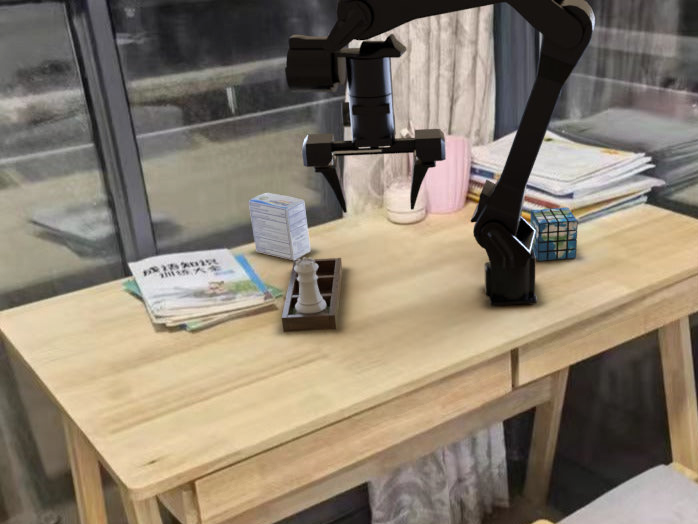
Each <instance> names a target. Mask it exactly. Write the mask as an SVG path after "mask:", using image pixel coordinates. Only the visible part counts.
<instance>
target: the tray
mask: <svg viewBox="0 0 698 524" xmlns="http://www.w3.org/2000/svg"><path fill="white" fill-rule="evenodd" d="M306 259H307V258H306ZM314 259H315V263H316V264H317V265H318V269H317V271H316V275H317V276H318V279H317V285H318V289H319V293H320V295H321V296H322V297H323V300H325V302H326V305H327V306H326V308H327V310H328V312H327V313H323V314H303V315H296V314H295V313H296V311H297V310H296V309H295V305H296V303H297V302H298V300H297V299H298V298H299V281H298V280H297V278H298V273H297V272H296V271H295V270H294V267H295V266H296V261H297V259H296V260H293V263H292V267H291V273H290V277H289V282H288V287H287V291H286V296H285V300H284V306H283V309H282V314H281V325H282V332H283V333H291V332H311V331H331V330H337V327H338V326H337V325H338V317H339V307H340V298H341V289H342V288H341V287H342V278H343V271H344V270H343V261H342V257H331V258H330V257H329V258H314ZM307 260H309V258H308V259H307ZM301 261H303V259H301Z"/></svg>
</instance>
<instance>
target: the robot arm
mask: <svg viewBox="0 0 698 524" xmlns="http://www.w3.org/2000/svg"><path fill="white" fill-rule="evenodd" d="M503 3H507V4H508V5H509V6H510V7H511V8H512V9H514V10H515V12H517V13H518V14H519V15H520V16H521V17H522V18H523V19H524V20H525V21H526V22H527V23H528V24H529V25H530V26H532V28H534V30H536V31H537V32H539V33H540V34H541V35H542V37H541V43H540V49H539V56H538V62H537V69H536V74H535V79H534V82H533V84H532V88H531V90H530V94H529V96H528V99H527V102H526V104H525V107H524V109H523V113H522V116H521V119H520V122H519V124H518V127H517V129H516V132H515V136H514V138H513V141H512V144H511V147H510V150H509V152H508V155H507V157H506V160H505V164H504V165H503V169H502V172H501V173H500V175H499V176H498V178H497V180H496V182H495V183H494V182H492V181H490V180H489V179H485V182H484V184H483V186H482V189H481V191H480V194H479V197H478V203H477V204H476V207H475V208H474V211H473V214H472V216H471V219H470V223H474V225H473V231H472V233H473V237H474V239H475V241H476V243H477V244H478V245H479V246H480V247H481V248H482V249H484V250H485V252H486V255H487V258H488V261H485V262H484V264H483V265H484V266H483V267H484V273H483V274H484V275H483V276H484V277H483V278H484V293H485V296H486V297H488V300H489V304H490V305H491V306H511V305H512V306H513V305H530V304H531V305H532V304H537V303H538V298H537V295H536V266H537V265H536V263H537V262H536V260H537V258H536V256H535V254H534V251H533V249H532V246H533V242H534V238H535V233H536V230H535V229H534V228H533V227H532V226H531V225H530V222H528V221H527V220H526V219H525V218H524V217H523V216H522V213H523V209H524V203H525V199H526V198H525V197H526V193H527V192H526V191H527V184H528V182H529V179H530V177H531V175H532V171H533V168H534V165H535V163H536V161H537V158H538V155H539V152H540V150H541V147H542V144H543V141H544V139H545V137H546V134H547V131H548V128H549V125H550V123H551V121H552V118H553V115H554V113H555V110H556V107H557V104H558V102H559V99H560V97H561V93H562V91H563V88H564V87H565V85H566V84H567V82H568V80H569V78H571V76H572V74H573V73H574V71H575V69H576V68H577V66H578V64H579V63H580V61H581V60H582V57H583V56H584V54H585V52H586V51H587V49H588V47H589V45H590V43H591V41H592V39H593V38H592V37H593V33H594V29H595V24H596V16H595V13H594V11H593V9H592V7H591V6H590V4H589V3H588V2H587V1H586V0H339V1H338V3H337V8H336V19H337V20H336V22H335V24H334V25H333V27H332V28H331V31H330V32H328V35H327V36H308V35H304V34H292V35H291V36H290V37H289V38H287V41H288V42H287V43H288V49H287V53H286V61H285V63H286V66H285V67H284V73H285V80H286V84H287V86H288V89H289V90H290V92H292V93H336V92H337V90H338V88H339V85H344V84H345V80H346V81H347V93H348V101H343V102H340V105H341V107H340V109H341V123H342V126H343V128H344V129H345V128H350V131H351V140H335V136H334V133H332V132H331V133H330V132H329V133H309V134H307V135H306V137H305V138H304V139H303V143H302V147H301V154H302V163H303V167H307V168H313V172H314V173H317V174H322V176H323V177H324V178H325V180H326V181H327V184H329V186H330V188H331V189H332V191H333V193H334V196H335V197H336V199H337V201H338V204H339V206H340V208H341V210H342V212H343V213H344V214H345V213H347V212H348V207H347V206H348V205H347V197H346V191H345V187H344V182H343V177H342V172H341V167H340V159H339V157H349V156H369V155H371V156H372V155H373V156H374V155H392V154H394V155H396V154H412V166H411V167H412V168H411V181H410V194H409V197H410V198H409V203H410V204H409V205H410V210H411V211H412V210H414V209H415V206H416V203H417V200H418V196H419V193H420V189H421V186H422V184H423V181H424V180H425V177H426V175H427V172H428V170H429V169H430V168H431V169H432V168H435V167H437V162H442V161H445V160H447V159H446V158H447V157H446V156H447V155H446V154H447V153H446V138H445V133H444V132H443V131H442V129H440V128H423V129H421V128H420V129H414V137H404V138H403V137H401V138H396V135H397V133H396V132H397V131H396V115H395V109H394V94H393V93H394V92H393V91H394V90H393V76H392V75H393V74H392V59H393V58H394V59H395V58H398V59H399V58H401V57H402V56H403V55H404V54H405V53H406V51H407V47H406V45H405V44H403V43H402V42H401V41H400V40H398V39H397V38H396V36H395V34H394V33H390V34H389V35H387V37H386V39H385V40H371V39H373V38H375V37H377V36H381V35H383V34H385V33H387V32H390V31H392V30H394V29H396V28H398V27H400V26H401V27H402V26H403V25H405V24H407V23H410V22H412V21H415V20H419V19H424V18H430V17H435V16H439V15H445V14H451V13H456V12H460V11H466V10H471V9H477V8H482V7H486V6H491V5H497V4H503ZM354 40H355V41H362V42H361V43H360V45H359V47H346V46H348V45H349V44H350V43H351V42H352V41H354Z"/></svg>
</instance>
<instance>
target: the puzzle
mask: <svg viewBox="0 0 698 524" xmlns="http://www.w3.org/2000/svg"><path fill="white" fill-rule="evenodd" d="M529 224H530V225H531V226H532V227H533V228H534V229H535V230H536V233H535V238H534V242H533V246H532V249H533V251H534V254H535V257H536V260H537V262H544V261H554V260H555V261H556V260H565V259H576V258H577V247H578V246H577V245H578V227H579V220H578V219H577V218H576V216H575V215H574V213H573V212H572V211H571V209H570V208H569V207H555V208H543V209H531V210H530V222H529Z"/></svg>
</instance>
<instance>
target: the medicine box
mask: <svg viewBox="0 0 698 524" xmlns="http://www.w3.org/2000/svg"><path fill="white" fill-rule="evenodd" d="M305 205H306V204H305V200H304V199H302V198H297V197H294V196H289V195H283V194H278V193H271V192H264V193H262V194H259V195H257V196H255V197H253V198H251V199H250V200H248V208H249V214H250V220H251V227H252V233H253V240H254V245H255V250H256V253H259V254H264V255H268V256H274V257H278V258H281V259H286V260H290V261H294V260H297V259H299V258H300V259H301V257H302V258H303V257H304V256H305V255H307V254H309V253H310V252H311V251H312V249H311V242H310V234H309V227H308V220H307V219H308V218H307V214H306V213H307V211H306V206H305Z"/></svg>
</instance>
